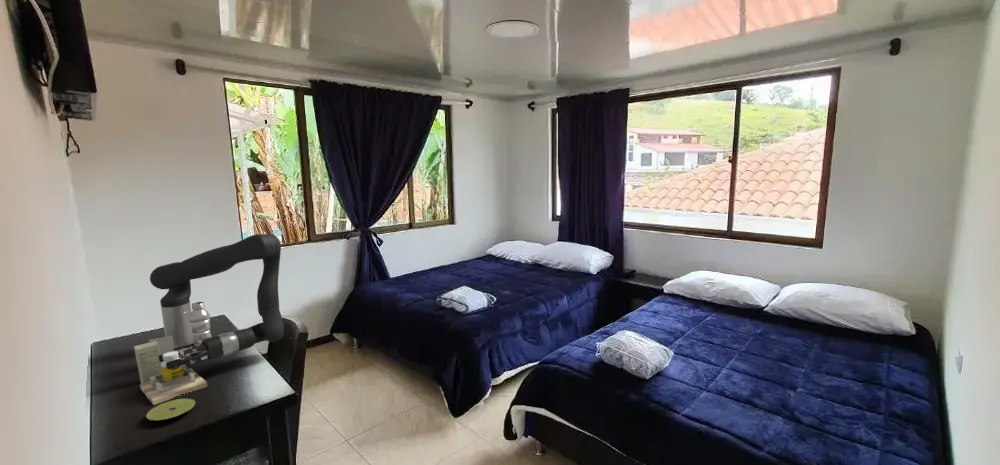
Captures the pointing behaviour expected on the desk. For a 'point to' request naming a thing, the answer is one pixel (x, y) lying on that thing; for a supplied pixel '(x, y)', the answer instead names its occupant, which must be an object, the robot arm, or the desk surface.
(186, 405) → the green disc with hole
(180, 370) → the supplement bottle
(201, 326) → the plastic bottle
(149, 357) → the skincare box
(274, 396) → the desk surface
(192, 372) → the socket board
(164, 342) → the tea bag
